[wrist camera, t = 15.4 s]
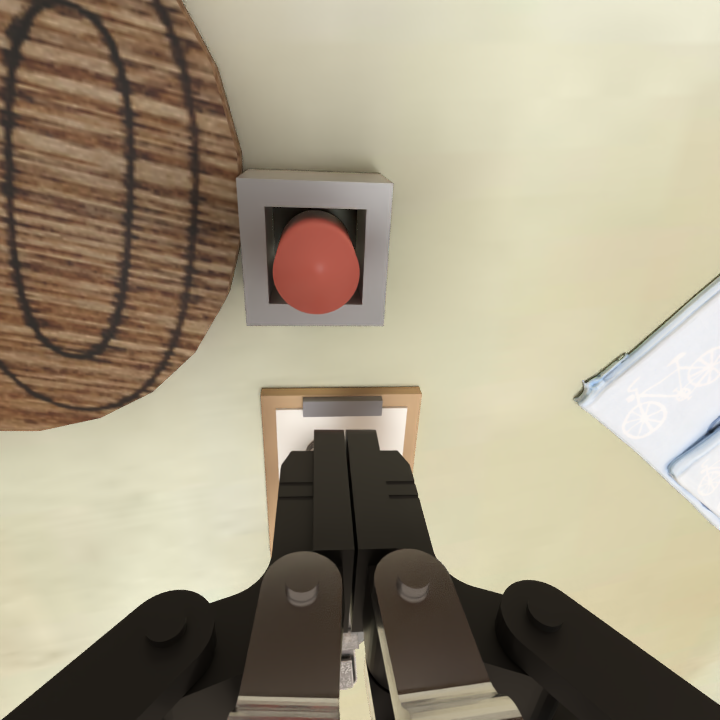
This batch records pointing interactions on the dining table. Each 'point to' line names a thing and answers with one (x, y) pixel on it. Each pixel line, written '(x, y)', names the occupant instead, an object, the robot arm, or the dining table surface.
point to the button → (315, 263)
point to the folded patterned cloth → (671, 401)
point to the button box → (313, 191)
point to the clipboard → (333, 423)
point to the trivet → (108, 204)
